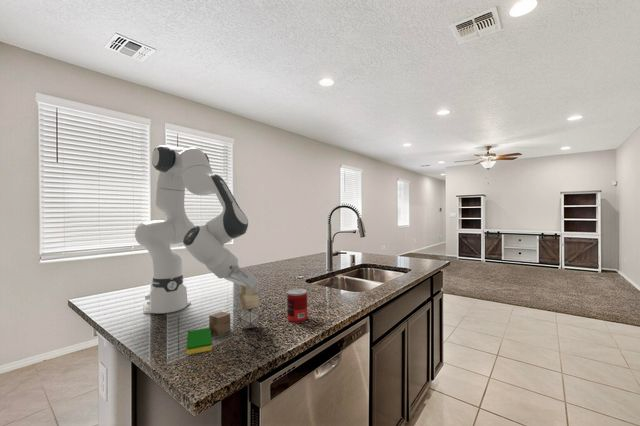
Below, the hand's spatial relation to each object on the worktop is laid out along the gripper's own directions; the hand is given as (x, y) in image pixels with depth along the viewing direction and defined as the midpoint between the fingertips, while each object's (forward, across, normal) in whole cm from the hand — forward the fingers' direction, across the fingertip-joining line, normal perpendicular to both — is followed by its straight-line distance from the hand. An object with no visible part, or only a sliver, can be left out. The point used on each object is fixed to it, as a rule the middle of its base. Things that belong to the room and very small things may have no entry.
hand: (250, 288), depth 106 cm
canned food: (+23, -5, -2) cm, 23 cm away
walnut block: (+3, +5, +17) cm, 18 cm away
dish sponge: (-2, +1, +24) cm, 24 cm away
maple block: (+4, 0, +5) cm, 6 cm away
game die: (+10, 0, +11) cm, 15 cm away
